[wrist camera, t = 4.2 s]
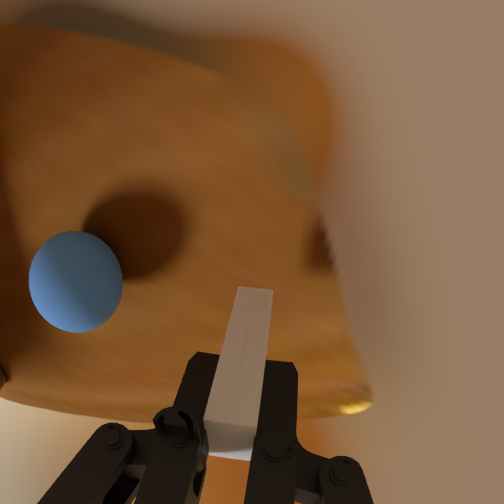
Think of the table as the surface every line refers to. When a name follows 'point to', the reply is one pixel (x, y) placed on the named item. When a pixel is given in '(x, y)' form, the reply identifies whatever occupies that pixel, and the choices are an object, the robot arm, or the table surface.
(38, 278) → the ball
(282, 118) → the table surface
